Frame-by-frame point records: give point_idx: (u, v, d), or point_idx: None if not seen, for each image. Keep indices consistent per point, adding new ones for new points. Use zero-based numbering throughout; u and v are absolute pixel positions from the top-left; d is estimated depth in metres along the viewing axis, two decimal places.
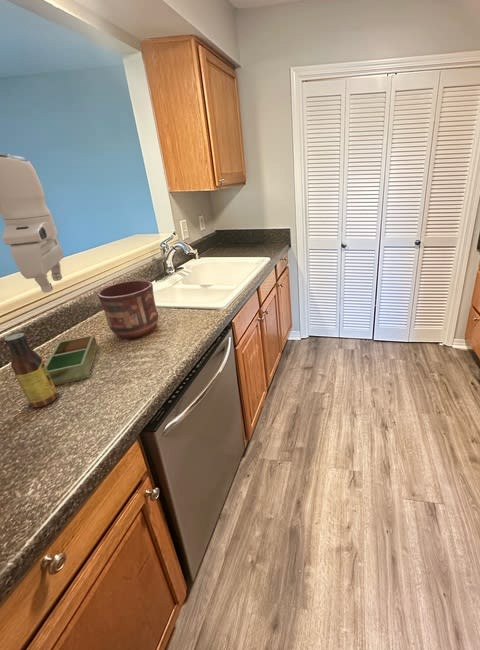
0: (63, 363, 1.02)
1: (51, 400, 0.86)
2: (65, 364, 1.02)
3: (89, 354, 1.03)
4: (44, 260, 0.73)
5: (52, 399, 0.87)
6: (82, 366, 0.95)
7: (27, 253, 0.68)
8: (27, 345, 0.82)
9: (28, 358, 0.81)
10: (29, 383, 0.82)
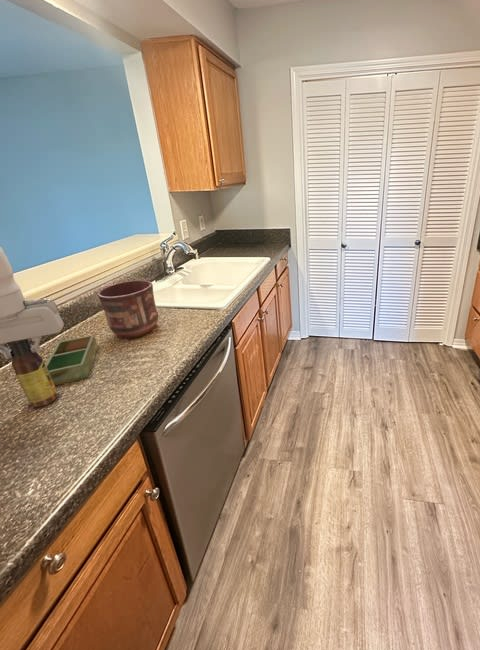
0: (63, 363, 1.02)
1: (51, 400, 0.86)
2: (65, 364, 1.02)
3: (89, 354, 1.03)
4: None
5: (52, 399, 0.87)
6: (82, 366, 0.95)
7: None
8: (28, 345, 0.82)
9: (29, 358, 0.81)
10: (30, 383, 0.82)
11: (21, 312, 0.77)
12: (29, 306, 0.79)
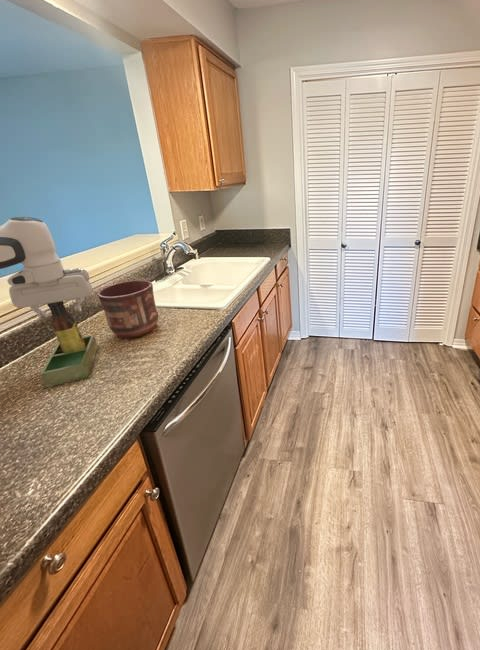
0: (63, 363, 1.02)
1: None
2: (65, 364, 1.02)
3: (89, 354, 1.03)
4: (28, 297, 0.95)
5: None
6: (82, 366, 0.95)
7: None
8: (64, 307, 1.01)
9: (65, 318, 1.01)
10: (66, 338, 1.02)
11: (61, 278, 0.97)
12: (67, 274, 0.98)
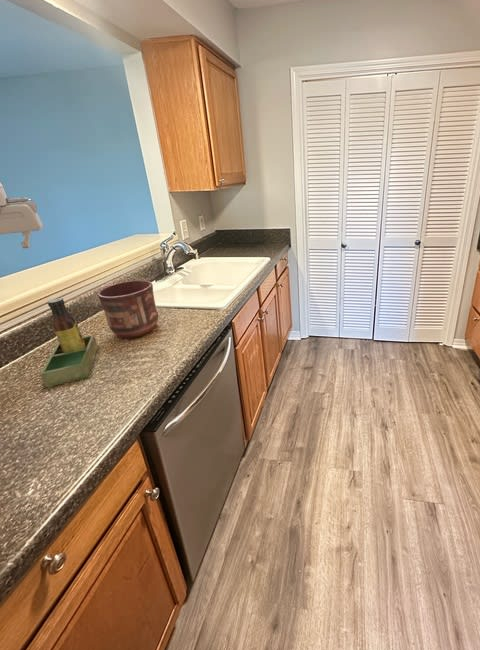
0: (63, 363, 1.02)
1: None
2: (65, 364, 1.02)
3: (89, 354, 1.03)
4: None
5: None
6: (82, 366, 0.95)
7: None
8: (64, 307, 1.01)
9: (66, 318, 1.01)
10: (66, 338, 1.02)
11: (4, 207, 0.88)
12: (11, 203, 0.90)
